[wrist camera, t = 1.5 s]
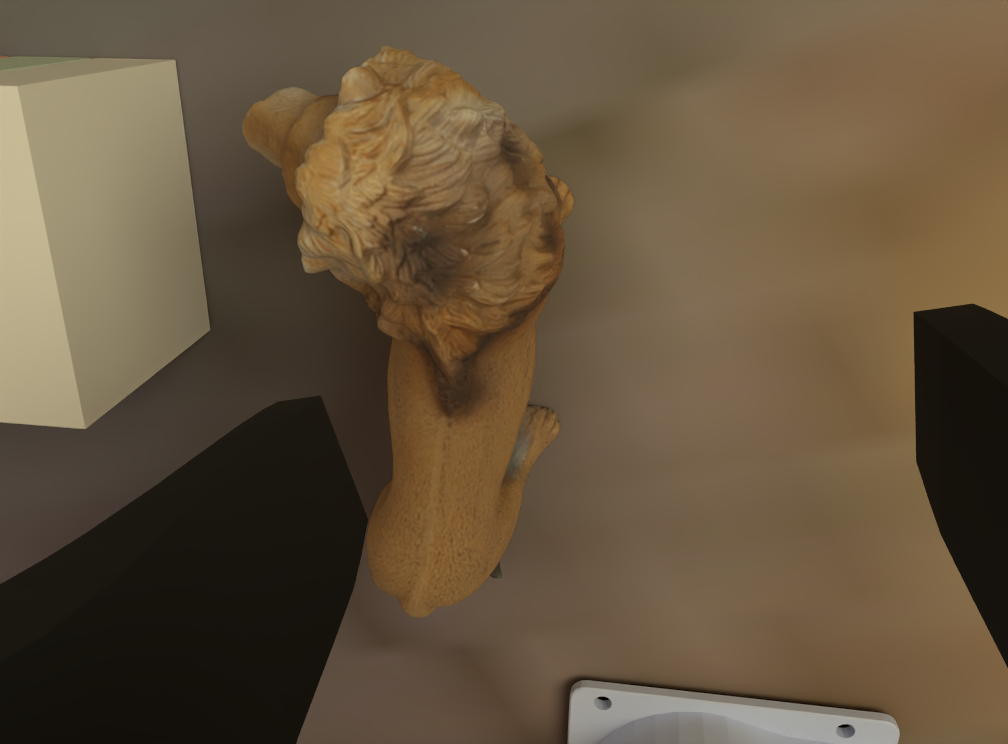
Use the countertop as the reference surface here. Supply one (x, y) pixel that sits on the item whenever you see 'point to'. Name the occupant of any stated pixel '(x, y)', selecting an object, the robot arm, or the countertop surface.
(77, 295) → the book row
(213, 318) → the countertop surface
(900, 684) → the countertop surface
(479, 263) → the lion figurine
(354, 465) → the countertop surface
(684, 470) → the countertop surface
